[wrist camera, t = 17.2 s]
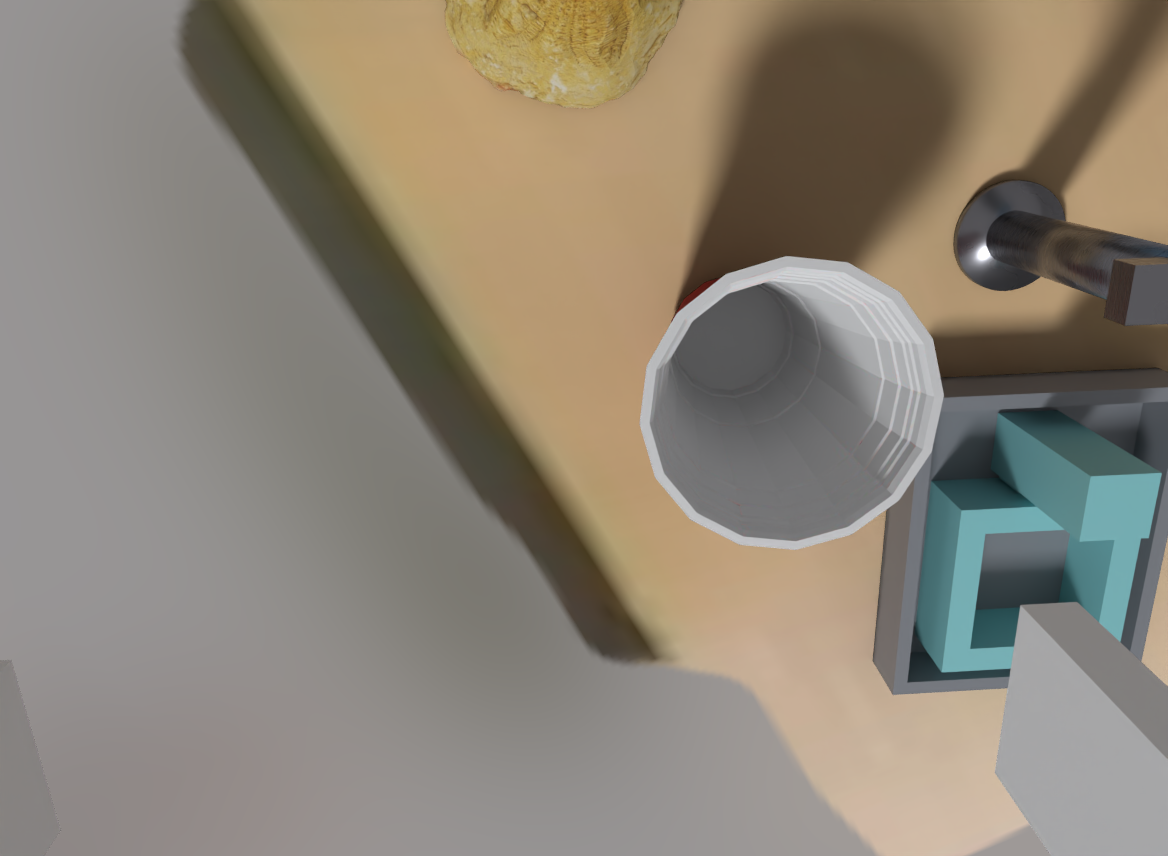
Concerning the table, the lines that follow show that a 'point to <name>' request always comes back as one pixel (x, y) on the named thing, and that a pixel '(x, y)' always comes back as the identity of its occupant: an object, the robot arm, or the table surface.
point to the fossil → (561, 45)
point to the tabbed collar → (1025, 504)
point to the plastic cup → (791, 402)
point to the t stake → (1059, 253)
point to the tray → (1020, 559)
